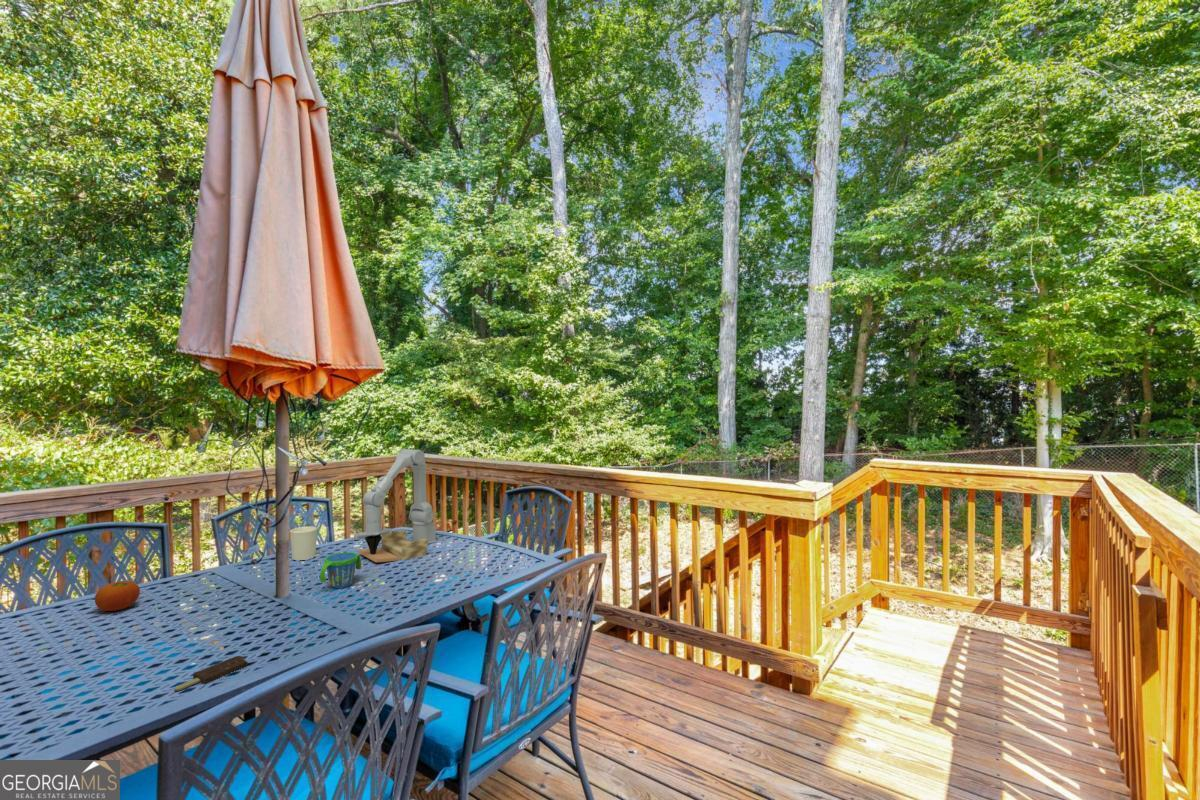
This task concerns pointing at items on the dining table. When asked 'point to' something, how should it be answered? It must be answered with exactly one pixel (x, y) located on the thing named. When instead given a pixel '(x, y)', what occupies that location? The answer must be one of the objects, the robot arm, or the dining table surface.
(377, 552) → the tailgate
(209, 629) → the dining table surface
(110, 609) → the fruit
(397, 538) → the cart bed
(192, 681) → the ice cream bar
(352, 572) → the snack cup
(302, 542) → the candle holder
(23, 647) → the dining table surface
